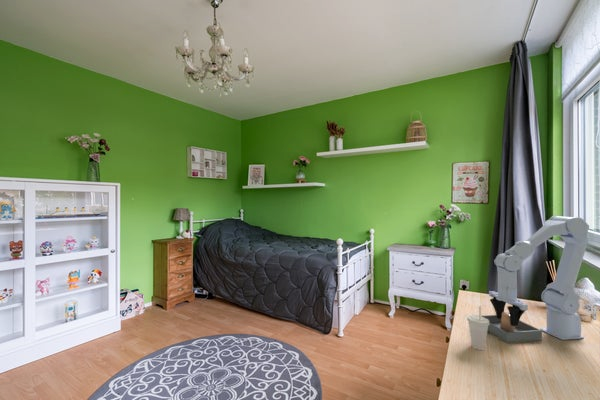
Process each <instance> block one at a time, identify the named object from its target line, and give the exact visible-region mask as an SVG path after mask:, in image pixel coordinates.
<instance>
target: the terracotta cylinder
mask: <svg viewBox="0 0 600 400" xmlns="http://www.w3.org/2000/svg"><path fill="white" fill-rule="evenodd" d="M500 329H502V330H504V331H506V332H515V326H512V325H511V323H510V314H509V311H508V312H507V311H504V312H502V317H501V325H500Z"/></svg>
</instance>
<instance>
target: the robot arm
mask: <svg viewBox="0 0 600 400" xmlns="http://www.w3.org/2000/svg"><path fill="white" fill-rule="evenodd" d="M589 228H590V225H589V224H588V222H586V221H585V220H584V219H583V218H582V217H578V216H575V217H574V216H573V217H572V216H560V215H553V216H551V217H550V218H548V219H547V220H545V221H544V224H543V226H541V227H540V228H539V229H538V230H536V232H534V233H533V234H532V235H531V236H530V237H529V238H528V239H527V240H520V241H516V242H515V243H514V245H513V246H512V247H510V248H509V249H507V250H505V251H504V253H499V254H497V256H496V257H495V259H494V260H493V262H494V263H493V264H494V265H495V266H496V270H497V291H494V290H492V291H491V290H489V291H488V296H489V297H490V299H489V301H490V303H491V305H492V307H493V309H494V311H495V312H494V313H495V315H497V318H498V319H501V317H502V312H505V308H506V307H507V310H508V313H509V314H510V323H511V325H512V326H517V325H518V322H519V320H521V318H522V315H523V314H524V313H525V312H526V311H528V309H529V308H528V307H529V306H528V304H527V303H524V302H523V301H521V300H520V299H518V297H517V296H518V294H517V292H518V289H517V288H518V287H517V285H518V284H517V282H518V280H517V277H518V276H517V275H518V273H517V271H518V270H521V267H522V264H523V263H524V261H526V260H527V259H528V258H530V257H531V256H533V254H535V252H536V248H537V247H539V246H540V245H542V244H543V243H544V242H546V241H548V240H549V239H551V238H552V237H553V236H559V237H560V238H561V239H562V240H563V242H564V246H563V247H564V248H563V250H562V253H561V257H560V261H559V263H558V266H557V270H556V273H555V277H554V280H553V282H551V283H548V284H547V285H546V288H545V289H544V290H543V291H542V292H541V296H540V297H541V301H542V302H543V303H545V305H544V306H545V307H546V327H540V328H539V329H540V330H542V332H545V333H547V334H548V335H551V336H553V337H555V338H556V339H557V338H558V339H559V340H562V341H563V340H574V339H575V340H577V339H585V337H584V336H583V335H582V319H581V316H580V314H579V313H577V312H578V311H579V309H580V294H579V293H578V291H577V290H576V288H575V285H576V283H577V278H578V276H579V273H580V269H581V265H582V263H583V260H584V257H585V252H586V250H587V249H586V248H587V246H588V242H589V241H588V240H589V239H588V233H589ZM507 304H509V306H506V305H507Z"/></svg>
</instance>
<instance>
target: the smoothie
mask: <svg viewBox="0 0 600 400" xmlns="http://www.w3.org/2000/svg"><path fill="white" fill-rule="evenodd" d="M482 316H483V315H482V306H481V305H478V315H475V314H469V315H467V317H466V321H468V328H469V335H470V341H471V347H472V348H474V349H475V350H479V351H484V350H485V349H486V342H487V336H488V331H487V330H488V325H489V324H490V323H489V320H488V319H487V318H484V317H482Z"/></svg>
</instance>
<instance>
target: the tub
mask: <svg viewBox="0 0 600 400" xmlns="http://www.w3.org/2000/svg"><path fill="white" fill-rule="evenodd" d="M481 316H482V317H484V318H487V319H488V320H489V323H490V324H489V325H488V330H487V333H489V334H491V335H492V336H493V337H496V338H498V339H500V340H501V341H503V342H504V343H506V344H511V343H524V342H525V343H526V342H537V341H540V342H541V341H542V340H543V331H542V330H540V328H537V327H536V326H534V325H531V324H529V323H527V322H524V321H523V320H521V319H520V320H519V322H518V325H517V326H515V332H506V331H504V330H502V329H500V325H501V319H498V318H497V315H496V314H487V315H486V314H485V315H481Z"/></svg>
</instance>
